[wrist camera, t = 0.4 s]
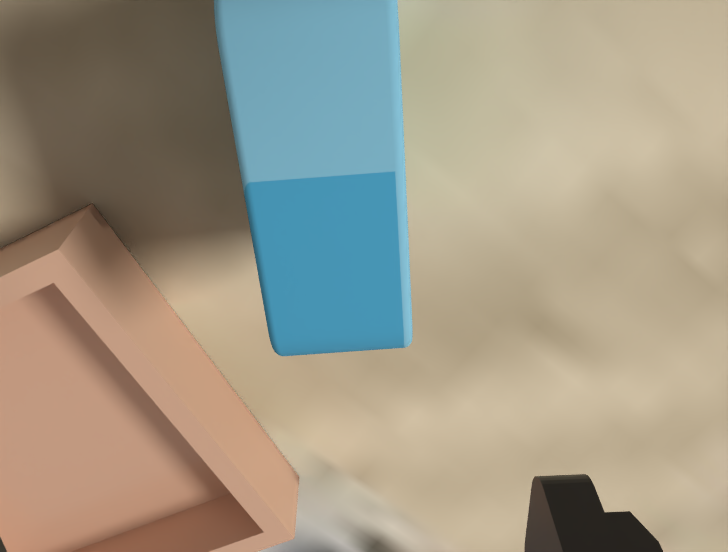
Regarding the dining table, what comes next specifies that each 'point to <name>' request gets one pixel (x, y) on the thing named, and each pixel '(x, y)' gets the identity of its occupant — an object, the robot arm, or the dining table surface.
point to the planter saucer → (121, 413)
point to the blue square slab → (322, 167)
